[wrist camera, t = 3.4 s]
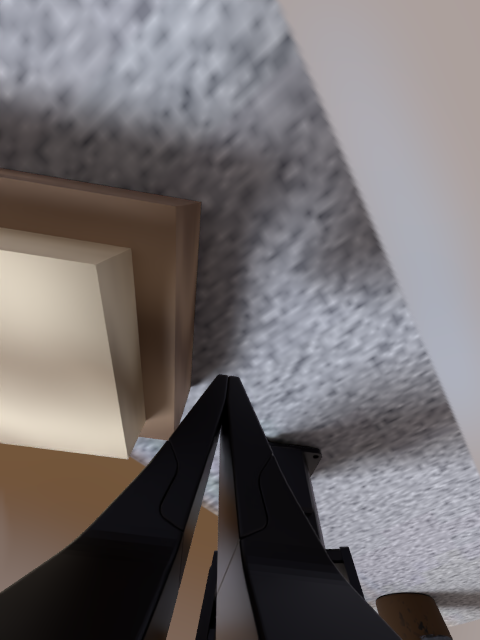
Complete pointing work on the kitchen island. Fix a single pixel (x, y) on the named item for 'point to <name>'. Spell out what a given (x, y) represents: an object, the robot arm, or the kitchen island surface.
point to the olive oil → (413, 616)
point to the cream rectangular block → (68, 345)
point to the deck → (148, 269)
